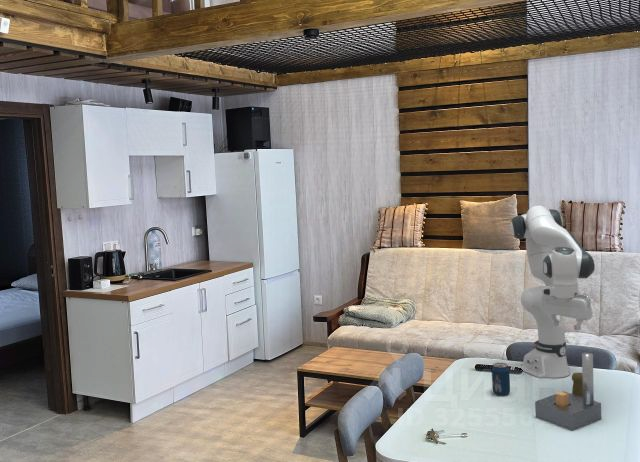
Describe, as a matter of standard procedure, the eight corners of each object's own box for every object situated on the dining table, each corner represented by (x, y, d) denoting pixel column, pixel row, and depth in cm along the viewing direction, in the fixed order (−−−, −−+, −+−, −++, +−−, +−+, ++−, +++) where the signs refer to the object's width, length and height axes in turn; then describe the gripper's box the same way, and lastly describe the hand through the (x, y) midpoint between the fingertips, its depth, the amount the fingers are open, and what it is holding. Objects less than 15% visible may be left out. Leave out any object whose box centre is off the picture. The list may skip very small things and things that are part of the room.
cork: (589, 403, 249) (588, 376, 248) (572, 403, 250) (571, 375, 249) (586, 398, 255) (585, 370, 254) (569, 398, 256) (569, 370, 255)
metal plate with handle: (535, 417, 240) (533, 353, 237) (564, 406, 248) (562, 345, 246) (572, 430, 226) (570, 363, 224) (601, 419, 234) (600, 354, 232)
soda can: (508, 390, 269) (507, 362, 267) (511, 396, 262) (510, 367, 261) (491, 390, 269) (490, 362, 268) (494, 396, 263) (493, 367, 261)
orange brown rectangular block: (556, 420, 236) (555, 393, 235) (562, 418, 237) (561, 391, 236) (563, 422, 233) (562, 395, 232) (568, 420, 235) (568, 393, 234)
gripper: (595, 293, 234) (596, 331, 236) (549, 286, 252) (550, 321, 253) (584, 296, 231) (585, 334, 233) (537, 289, 249) (539, 324, 250)
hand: (566, 327), depth 243 cm, fingers open, 8 cm apart
